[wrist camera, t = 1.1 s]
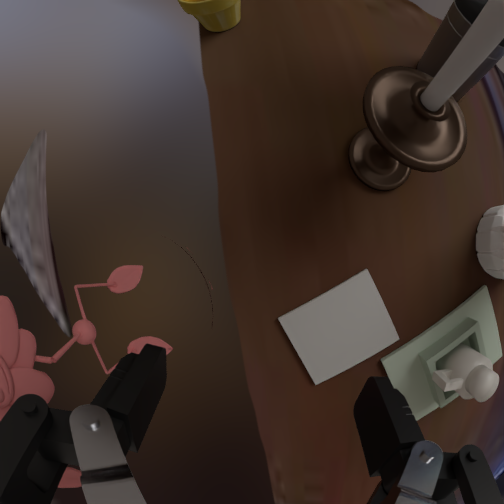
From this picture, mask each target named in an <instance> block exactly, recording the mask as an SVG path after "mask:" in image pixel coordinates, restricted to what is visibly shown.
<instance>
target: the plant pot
mask: <svg viewBox="0 0 504 504" xmlns="http://www.w3.org/2000/svg"><path fill="white" fill-rule="evenodd" d="M178 2H179V4H180V5H181V7H182V8H183V10H184V11H185V12H186V13H188V14H191V15H193V16H194V17H195V18H196V19H197V20H198V21H199V22H200V23H201V24H202V25H203V26H204V27H205V28H206V29H207V30H209V31H212V32H221V31H226V30H228V29H231V28H233V27H234V26H236V25H237V24H238V22H239V21H240V0H178Z"/></svg>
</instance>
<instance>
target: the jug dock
mask: <svg viewBox="0 0 504 504" xmlns="http://www.w3.org/2000/svg"><path fill="white" fill-rule="evenodd" d="M461 342H462V343H464V344H465V345H467V346H469V347H470V348H472V349H474V350H475V351H477V352H479V353H480V354H482V355H484V356H485V357H487V358H489V359H490V360H491V362H492V365H493V364H494V363H495V362H496V361H497V360H498V359H499V358H500V357H501V356H502V350H501V344H500V338H499V333H498V328H497V324H496V319H495V315H494V311H493V307H492V303H491V299H490V296H489V292H488V289H487V286H486V285H483V286H482V287H481V288H480V289H479V290H477V291H476V292H475V293H474V294H473V295H472V296H470V297H469V298H468V299H467V300H465V301H464V302H463V303H462V304H461V305H459V306H458V307H457V308H455V309H454V310H453V311H452V312H450V313H449V314H448V315H446V316H445V317H444V318H442V319H441V320H440V321H438V322H437V323H435V324H434V325H433V326H431V327H430V328H428V329H427V330H426V331H424V332H423V333H421V334H420V335H418V336H417V337H415V338H414V339H412V340H411V341H409V342H408V343H406V344H404V345H403V346H401V347H400V348H398V349H397V350H395V351H393V352H392V353H390V354H388V355H387V356H385V357H383V358H382V359H381V362H382V364H383V366H384V368H385V371H386V373H387V375H388V378H389V379H390V381H391V383H392V385H393V387H394V389H398V390H399V391H400V392H401V393H402V394H403V395H404V396H405V398H406V400H407V402H408V404H409V407H410V409H411V411H412V415H414V417H415V419H416V421H417V420H419V419H420V418H422V417H424V416H425V415H427V414H428V413H430V412H431V411H433V410H435V409H436V408H438V407H439V406H440V407H441V408H442V407H444V406H445V405H446V404H448V403H449V402H451V401H452V400H453V399H455V398H456V397H458V396H459V394H458V393H457V392H456V391H455V390H451V391H446V392H444V391H443V390H442V389H441V388H440V387H439V386H438V385H437V384H436V383H435V382H434V381H433V380H432V376H433V372H434V371H437V369H436V362H437V360H439V359H440V358H441V357H443V356H444V355H446V354H447V353H448V352H450V351H451V350H452V349H454V348H455V347H456V346H457V345H459V344H460V343H461Z"/></svg>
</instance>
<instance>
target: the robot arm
mask: <svg viewBox="0 0 504 504" xmlns="http://www.w3.org/2000/svg"><path fill="white" fill-rule="evenodd" d="M487 2H488V0H454V1H453V3H452V5H451V6H450V8H449V10H448V12H447V14H446V16H445V18H444V19H443V21H442V23H441V25H440V26H439V28H438V30H437V32H436V33H435V35H434V37H433V39H432V40H431V42H430V44H429V46H428V47H427V49H426V51H425V52H424V54H423V56H422V58H421V59H420V61H419V63H418V66H417V70H419V71H422V72H424V73H426V74H428V75H430V76H431V77H433V78H434V77H435V76H436V75H437V73H438V72H439V70H440V69H441V68H442V66H443V65H444V64H445V62H446V61H447V60H448V58H449V57H450V55H451V54H452V53H453V51H454V50H455V48H456V47H457V46H458V44H459V43H460V41H461V40H462V39H463V37H464V36H465V34H466V33H467V31H468V30H469V28H470V27H471V26H472V24H473V23H474V21H475V20H476V18H477V17H478V15H479V14H480V12H481V11H482V9H483V8H484V6H485V5H486V3H487ZM503 56H504V38H503V40H502V41H501V42H500V43H499V44H498V45H497V46H496V48H495V49H494V50H493V51H492V52H491V53H490V54H489V55H488V57H487V58H486V59H485V60H484V61H483V62H482V63H481V64H480V65H479V67H478V68H477V69H476V70H475V71H474V72H473V73H472V74H471V75H470V76H469V77H468V79H467V80H466V81H465V82H464V83H463V84H462V85H461V86H460V87H459V88H458V89H457V90H456V91H455V92H454V94H453V95H452V96H453V97H454V99H455V100H456V101H458V100H460V99H461V98H462V97H463V96H464V95H465V94H466V93H467V92H468V91H469V90H470V89H471V88H472V87H473V86H474V85H475V84H476V83H477V82H478V81H479V80H480V79H481V78H482V77H483V76H484V75H485V74H486V73H487V72H488V71H489V70H490V69H491V68H492V67H493V66H494V65H495V64H496V63H497V62H498V61H499V60H500V59H501V58H502V57H503ZM166 375H167V373H166V349H165V348H164V347H160V346H156V345H152V344H148V343H147V344H145V345H144V347H143V348H142V350H141V352H140V353H139V354H136V353H132V352H131V353H129V354H128V355H126V356H125V357H123V358H121V360H120V361H119V363H118V364H117V365H116V367H115V369H114V370H113V371H112V373H111V374H110V376H109V377H108V379H107V380H106V382H105V383H104V384H103V386H102V388H101V389H100V391H99V392H98V394H97V395H96V397H95V398H94V399H93V401H92V402H91V404H88V405H82V406H79V407H77V408H76V409H75V410H74V411H65V410H59V409H54V408H49V407H48V405H47V403H46V401H45V400H44V399H43V398H42V397H40V396H38V395H35V394H25V395H22V396H20V397H19V398H18V399H17V400H16V401H15V402H14V403H13V405H12V406H11V407H10V409H9V410H8V411H7V413H6V414H5V416H4V417H3V418H2V420H1V421H0V504H51V501H52V499H53V497H54V494H55V492H56V489H57V487H58V485H59V483H60V481H61V478H62V476H63V474H64V472H65V470H66V467H67V465H68V464H71V465H77V466H80V469H81V474H82V476H80V481H81V485H82V488H83V492H84V495H85V498H86V500H87V503H88V504H146V502H145V500H144V498H143V496H142V494H141V492H140V490H139V488H138V486H137V484H136V481H135V479H134V478H133V475H132V473H131V471H130V469H129V466H128V464H127V461H126V459H125V457H126V454H127V452H128V450H130V451H134V452H136V453H137V452H138V450H139V448H140V445H141V443H142V441H143V438H144V436H145V433H146V431H147V429H148V426H149V424H150V422H151V419H152V417H153V414H154V412H155V410H156V407H157V405H158V403H159V401H160V398H161V396H162V394H163V391H164V389H165V385H166V377H167V376H166ZM354 418H355V421H356V425H357V429H358V432H359V436H360V440H361V444H362V447H363V451H364V455H365V459H366V463H367V467H368V471H369V475H370V477H374V476H381V479H382V480H381V481H380V482H379V483H378V485H377V487H376V488H375V490H374V492H373V494H372V495H371V497H370V499H369V500H368V502H367V504H457V501H456V498H455V495H454V491H455V490H457V489H458V488H460V491H461V494H462V497H463V500H464V503H465V504H504V503H503V499H502V497H501V494H500V492H499V489H498V486H497V484H496V482H495V479H494V477H493V474H492V472H491V470H490V467H489V465H488V463H487V461H486V458H485V456H484V454H483V452H482V451H481V450H480V449H479V448H478V447H477V446H474V445H465V446H464V447H462V448H461V450H460V451H459V452H458V453H447V452H442V450H441V448H440V447H439V446H438V445H437V444H435V443H434V442H431V441H427V440H425V439H424V437H423V434H422V432H421V430H420V428H419V426H418V423H417V421H416V419H415V417H414V415H412V411H411V409H410V407H409V404H408V402H407V400H406V398H405V396H404V395H403V394H402V393H401V392H400V391H399V390H398V389H394V387H393V385H392V383H391V381H390V379H389V378H388V377H369V378H368V380H367V381H366V383H365V385H364V387H363V389H362V391H361V393H360V395H359V397H358V398H357V400H356V402H355V405H354Z"/></svg>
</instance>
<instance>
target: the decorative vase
mask: <svg viewBox="0 0 504 504" xmlns="http://www.w3.org/2000/svg"><path fill="white" fill-rule="evenodd" d="M477 231H478V232H477V234H476V251H477V252H478V253H477V257H478V260H479V262H480V264H481V266H482V268H484V270H485V272H487V273H488V274H489V275H491V276H493V277H494V278H499V279H504V205H501V206H496V207H492V208H490V209H488V210H487V211H486V212H485V213H484V215H483V218H481V220H480V222H479V225H478V228H477Z"/></svg>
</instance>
